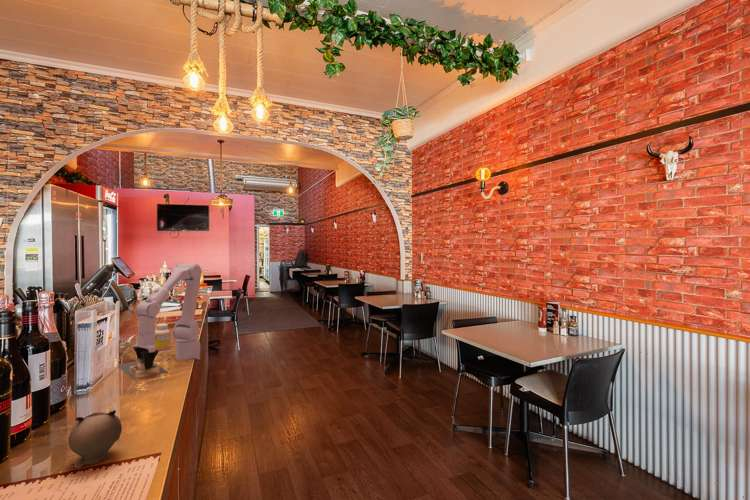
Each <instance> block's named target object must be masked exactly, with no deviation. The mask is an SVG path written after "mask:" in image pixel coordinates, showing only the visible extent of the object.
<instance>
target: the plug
mask: <svg viewBox="0 0 750 500" xmlns="http://www.w3.org/2000/svg"><path fill="white" fill-rule="evenodd" d="M136 361H137V370H138V371H141V370H146V369H145V367H144V360H143V357H142V358H137V357H136Z"/></svg>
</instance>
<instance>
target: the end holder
mask: <svg viewBox="0 0 750 500" xmlns="http://www.w3.org/2000/svg"><path fill="white" fill-rule="evenodd" d="M154 363H155V362H154ZM154 363H153V365H152V368H151V369H146V370H141V371H138V370H137V366H132V367H130V374H131V375H132V376H133V377H135V378H136V380H139V379H138V378H140V379H143V378H142V377H145V378H148V377H147V376H149V377H152V376H151V375H154V376H157V375H156V374H159V373H160V367H161V366H160V367H158V366H159V365H158V364H157V365H158V366H157V365H155V364H154ZM159 375H160V374H159Z"/></svg>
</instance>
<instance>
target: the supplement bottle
mask: <svg viewBox="0 0 750 500" xmlns="http://www.w3.org/2000/svg"><path fill="white" fill-rule="evenodd" d="M168 326H169V325H168V323H158V324H156V329H155V350H158V352H163V351H167V350H169V349H170V334H171V333H170V332H171V330H170V329H168Z"/></svg>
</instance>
